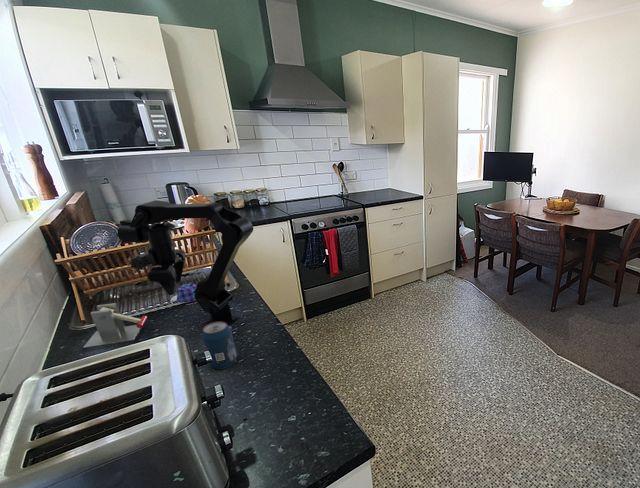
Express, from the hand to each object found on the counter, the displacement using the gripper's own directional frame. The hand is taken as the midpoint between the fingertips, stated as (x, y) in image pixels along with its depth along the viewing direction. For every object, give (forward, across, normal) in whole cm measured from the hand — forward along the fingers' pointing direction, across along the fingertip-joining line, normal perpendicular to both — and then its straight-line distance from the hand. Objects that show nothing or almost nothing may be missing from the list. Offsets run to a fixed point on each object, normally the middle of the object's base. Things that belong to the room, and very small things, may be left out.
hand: (174, 288), depth 112 cm
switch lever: (+6, +5, -14) cm, 16 cm away
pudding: (+12, -16, -1) cm, 20 cm away
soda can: (+12, +28, +15) cm, 34 cm away
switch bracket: (+12, +5, -17) cm, 21 cm away
